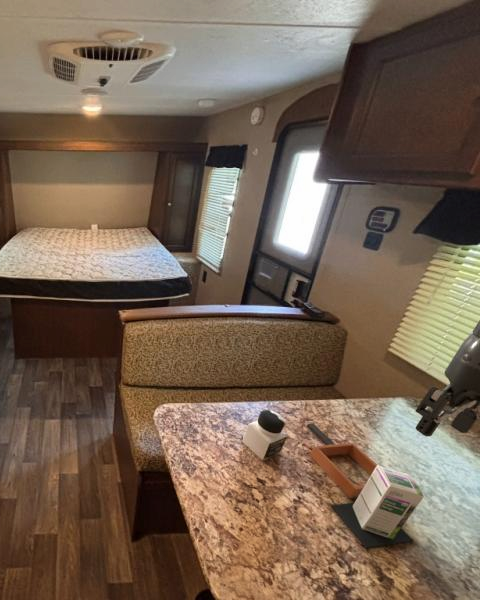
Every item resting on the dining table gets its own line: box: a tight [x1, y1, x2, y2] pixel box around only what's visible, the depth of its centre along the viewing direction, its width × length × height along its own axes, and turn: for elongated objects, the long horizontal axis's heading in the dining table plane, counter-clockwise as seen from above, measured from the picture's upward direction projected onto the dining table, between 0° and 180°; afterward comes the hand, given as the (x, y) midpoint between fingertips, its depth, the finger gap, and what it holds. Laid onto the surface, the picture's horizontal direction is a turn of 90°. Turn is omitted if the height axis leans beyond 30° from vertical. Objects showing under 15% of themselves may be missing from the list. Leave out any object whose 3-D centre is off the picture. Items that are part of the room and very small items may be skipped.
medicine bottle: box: [242, 409, 288, 462], centre depth 88 cm, size 7×7×12 cm
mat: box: [330, 502, 414, 549], centre depth 72 cm, size 12×9×1 cm
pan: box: [306, 422, 378, 499], centre depth 87 cm, size 13×21×4 cm, turn 8°
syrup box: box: [353, 464, 424, 539], centre depth 69 cm, size 6×6×14 cm
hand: (440, 431), depth 62 cm, fingers open, 8 cm apart
